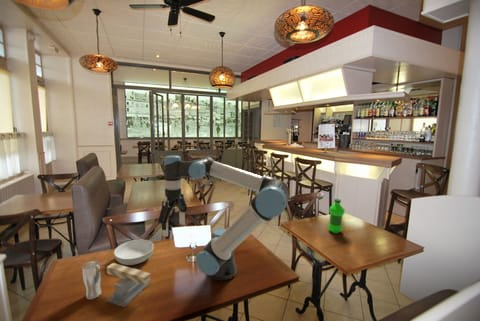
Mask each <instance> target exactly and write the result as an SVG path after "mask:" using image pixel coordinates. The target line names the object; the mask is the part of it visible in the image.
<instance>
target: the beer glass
mask: <svg viewBox="0 0 480 321" xmlns="http://www.w3.org/2000/svg"><path fill="white" fill-rule="evenodd" d="M82 279H83V283H84V285H85V289H86V295H85V297H86V299H87V300H94V298H95V299H97V298H99V297H100V296H101V295H102V293H101V292H102V288H101V279H102V269H101V263H100V261H98V260H92V261H88V262H86V263H84V264H83V265H82ZM100 294H101V295H100ZM99 295H100V296H99ZM98 296H99V297H98ZM96 297H97V298H96Z"/></svg>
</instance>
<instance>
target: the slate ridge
mask: <svg viewBox="0 0 480 321" xmlns="http://www.w3.org/2000/svg"><path fill="white" fill-rule="evenodd" d="M136 269H137V270H140V271H143V270H142V269H138V268H136ZM149 284H150V285H151V281H149V282H148V283H147V284H146V285H142V284H139V283H136V282H133V281H129V280H126V279H123V278H120V279H119V280H118V281H116V283H114V291H113V294H112V295H110V296H109V297H108V298H107V299H106V302H107V301H109V302H112V303H114V304H117V305H120V306H123V307H125V306H126V305H127V304H128V303H129V302H130V301H131V300H132V299H133V298H135V296H137V295H138V294H139V293H140V292H141V291H142V290H143V289H144V288H145V287H146V286H148V285H149ZM150 285H149V286H150ZM149 286H148V287H149ZM143 291H144V290H143ZM143 291H142V292H143ZM142 292H141V293H142ZM141 293H140V294H141ZM140 294H139V295H140ZM139 295H138V296H139ZM138 296H137V297H138ZM135 299H136V298H135ZM132 301H133V300H132ZM132 301H131V302H132ZM109 302H108V303H109ZM131 302H130V303H131ZM112 303H111V304H112ZM130 303H129V304H130ZM114 304H113V305H114ZM129 304H128V305H129ZM117 305H116V306H117ZM128 305H127V306H128ZM120 306H119V307H120ZM127 306H126V307H127ZM123 307H122V308H123ZM126 307H125V308H126Z"/></svg>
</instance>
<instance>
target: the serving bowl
mask: <svg viewBox="0 0 480 321" xmlns="http://www.w3.org/2000/svg"><path fill="white" fill-rule="evenodd" d="M154 248H155V247H154V243H153V242H152V241H151V240H149V239H141V238H140V239H133V240H132V239H131V240H128V241H126V242H123V243H121V244H120V245H118V246H117V247H116V248H115V250H114V251H113V255H114V259H115V260H116V261H117V262H118V263H119V264H120V265H123V266H134V265H137V264H138V265H139V264H140V263H143V262H145V261H147V260H148V259H149V258H150V257H151V255H152V254H153V252H154Z"/></svg>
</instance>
